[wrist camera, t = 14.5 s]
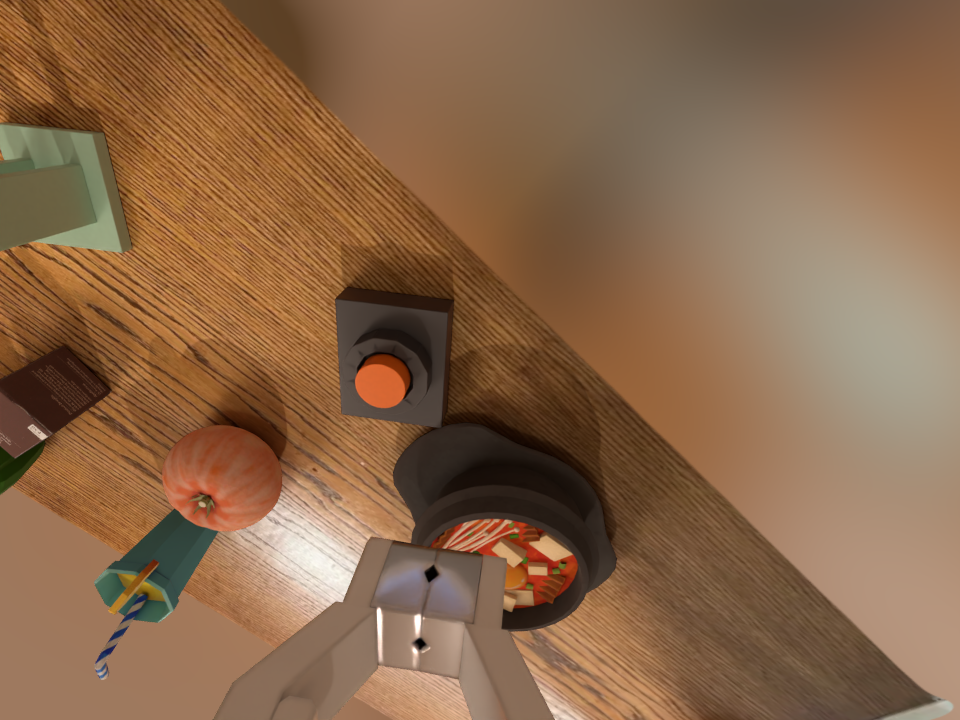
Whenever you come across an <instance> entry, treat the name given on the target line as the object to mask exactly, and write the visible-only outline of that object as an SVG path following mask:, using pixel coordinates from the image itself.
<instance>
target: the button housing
mask: <svg viewBox="0 0 960 720" xmlns="http://www.w3.org/2000/svg"><path fill="white" fill-rule="evenodd" d="M335 303H336V321H337V339H338V357H339V375H340V393H341V411H342V414H344V415H351V416H358V417H365V418H373V419H380V420H387V421H394V422H401V423H408V424H415V425H422V426H429V427H436V428H442V425H443V422H444V419H445V415H446V412H447V401H448V385H449V370H450V354H451V338H452V322H453V307H454V301H453V300H446V299H438V298H430V297H422V296H414V295H406V294H398V293H390V292H382V291H374V290H366V289H358V288H350V287H347V288H346V289H345V290H344V291H343V292H342V293H341V294H340V295H339V296H338V297H337V298H336V299H335ZM376 354H389V355H392V356H395V357H397V358H398V359H400V360H401V361H402V362H403V363H404V364H405V365H406V367H407V368H408V370H409V373H410V385H409V387H408V389H407V391H406V394H405V396H404V398H403V399H402V401H401V402H400V403H399V404H397V405H395V406H393V407H390V408H379V407H375V406H372V405H370V404H368V403H367V402H365V401H364V400H363V399H362V398H361V397H360V395H359V394H358V392H357V390H356V386H355V378H356V375H357V373H358V371H359V370H360V368H361V367H362V366H363V364H364V363H365V361H366V360H367V359H368V358H370V357H371V356H373V355H376Z"/></svg>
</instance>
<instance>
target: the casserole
mask: <svg viewBox="0 0 960 720" xmlns="http://www.w3.org/2000/svg"><path fill="white" fill-rule="evenodd" d="M393 479H394V485H395V487H396V488H397V490H398V492H399V493H400V495H401V496H402V498H403V500H404V501H405V503H406V504H407V506H408V508H409V509H410V511H411V514H412V516H413V519H414V522H415V524H416V525H415V528H414V530H413V532H412V540H411V544H417V545H422V546H427V547H433V548H444V549H451V550H458V551H465V552H472V553H479V554H483V556H484V555H489V556H496V557H502V558H507V570H506V582H505V593H504V604H503V616H502V627H501V629H504V630H508V631H510V632H512V631H529V630H534V629H540V628H543V627H546V626H549V625H552V624H555V623H557V622H559V621H561V620H562V619H564V618H566V617H568V616H569V615H570V614H571V613H572V612H574V611H575V610H576V609H577V608H578V606H579V605H580V604H581V602H582V601H583V600H584V597H585V595H586V593H588V592H590V591H591V590H593V589H595V588H597V587H598V586H599V585H601V584H602V583H603V582H604V581H606V580H607V579H608V578H609V577H610V575H611V574H612V572H613V571H614V570H615V567H616V561H617V558H616V555H615V553H614V550H613V547H612V545H611V543H610V541H609V539H608V537H607V535H606V529H605V523H604V517H603V511H602V506H601V503H600V501H599V499H598V497H597V495H596V493H595V491H594V490H593V488H592V487H591V486H590V485H589V483H588V482H587V481H586V479H585V478H584V477H582V476H581V475H580V474H579V473H578V472H577V471H575V470H574V469H573V468H572V467H570V466H569V465H567V464H565V463H564V462H562V461H560V460H558V459H557V458H555V457H553V456H550V455H547V454H544V453H542V452H539V451H536V450H533V449H531V448H528V447H525V446H522V445H519V444H517V443H515V442H513V441H511V440H509V439H507V438H505V437H504V436H502V435H500V434H498V433H496V432H494V431H493V430H491V429H489V428H487V427H485V426H483V425H479V424H473V423H467V422H466V423H458V424H450V425H447V426H444V427H442V428H438V429H435V430H432V431H430V432H429V433H427V434H425V435H423V436H421V437H420V438H418V439H417V440H415V441H414V442H413V443H412V444H411V445H410V446H409V447H408V448H406V449H405V451H404V452H403V453H402V455H401V456H400V458H399V459H398V461H397V463H396V465H395V468H394V471H393ZM482 561H483V559H482Z"/></svg>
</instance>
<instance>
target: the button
mask: <svg viewBox="0 0 960 720" xmlns="http://www.w3.org/2000/svg"><path fill="white" fill-rule="evenodd" d="M409 385H410V373H409V370H408V368H407V367H406V365H405V364H404V363H403V362H402V361H401V360H400V359H398V358H397V357H395V356H392V355H389V354H376V355H373V356H371V357H370V358H368V359H367V360H366V361H365V363H364V364H363V366H362V367H361V368H360V370H359V371H358V373H357V375H356V378H355V386H356V390H357V392H358V394H359V395H360V397H361V398H362V399H363V400H364V401H365V402H367V403H368V404H370V405H372V406H375V407H379V408H390V407H393V406H395V405H397V404H399V403H400V402H401V401H402V399H403V398H404V396H405V394H406V391H407V389H408V387H409Z"/></svg>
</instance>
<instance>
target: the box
mask: <svg viewBox="0 0 960 720" xmlns="http://www.w3.org/2000/svg"><path fill="white" fill-rule="evenodd" d="M110 392H111V390H110V389H108V388H107V387H106V386H105V385H104V384H103V383H102V382H101V381H100V380H99V379H98V378H97V377H96V376H95V375H94V374H93V373H91V372H90V371H89V370H88V369H87V368H86V367H85V366H84V365H83V364H82V363H81V362H80V361H79V360H78V359H77V358H76V357H75V356H74V355H73V354H72V353H71V352H70V351H69V350H68V349H67V348H66V347H65V346H62V347H59V348H58V349H56V350H54V351H52V352H50V353H48V354H47V355H45V356H43V357H41V358H39V359H37V360H36V361H34V362H32V363H30V364H28V365H27V366H24V367H23V368H21V369H19V370H17V371H15V372H13V373H11V374H9V375H7V376H5V377H3V378H2V379H0V446H1V447H2V448H3V449H4V450H6V451H7V452H8V453H9V454H10V455H11V456H12V457H14V458H16V457H18V456H20V455H21V454H23V453H25V452H26V451H28V450H29V449H31V448H33V447H34V446H36V445H37V444H39V443H40V442H42V441H44V440H45V439H47V438H48V437H50V436H51V435H53V434H54V433H56V432H57V431H59V430H60V429H61V428H63V427H64V426H66V425H67V424H68V423H70V422H71V421H72V420H74V419H75V418H77V417H78V416H79V415H81V414H82V413H84V412H85V411H86V410H88V409H89V408H91V407H92V406H93V405H95V404H96V403H98V402H99V401H100V400H102V399H103V398H105V397H106V396H107V395H108V394H109V393H110Z"/></svg>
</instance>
